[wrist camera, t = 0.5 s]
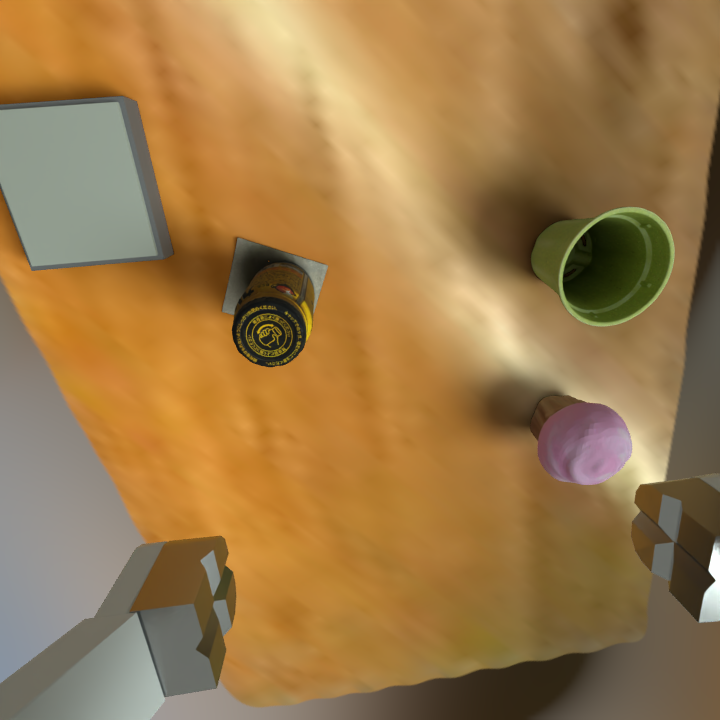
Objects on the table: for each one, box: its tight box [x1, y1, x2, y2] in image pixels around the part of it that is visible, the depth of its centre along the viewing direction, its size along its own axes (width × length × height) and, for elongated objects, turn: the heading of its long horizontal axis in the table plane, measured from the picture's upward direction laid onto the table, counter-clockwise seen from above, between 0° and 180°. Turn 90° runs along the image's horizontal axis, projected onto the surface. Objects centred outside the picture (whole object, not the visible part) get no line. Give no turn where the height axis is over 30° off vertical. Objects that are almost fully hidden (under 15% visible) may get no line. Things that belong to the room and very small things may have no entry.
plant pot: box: [531, 207, 674, 326], centre depth 38 cm, size 9×9×9 cm
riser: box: [0, 96, 174, 271], centre depth 35 cm, size 12×11×3 cm
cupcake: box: [530, 395, 632, 485], centre depth 45 cm, size 9×9×10 cm
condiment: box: [222, 238, 328, 367], centre depth 36 cm, size 7×8×12 cm
